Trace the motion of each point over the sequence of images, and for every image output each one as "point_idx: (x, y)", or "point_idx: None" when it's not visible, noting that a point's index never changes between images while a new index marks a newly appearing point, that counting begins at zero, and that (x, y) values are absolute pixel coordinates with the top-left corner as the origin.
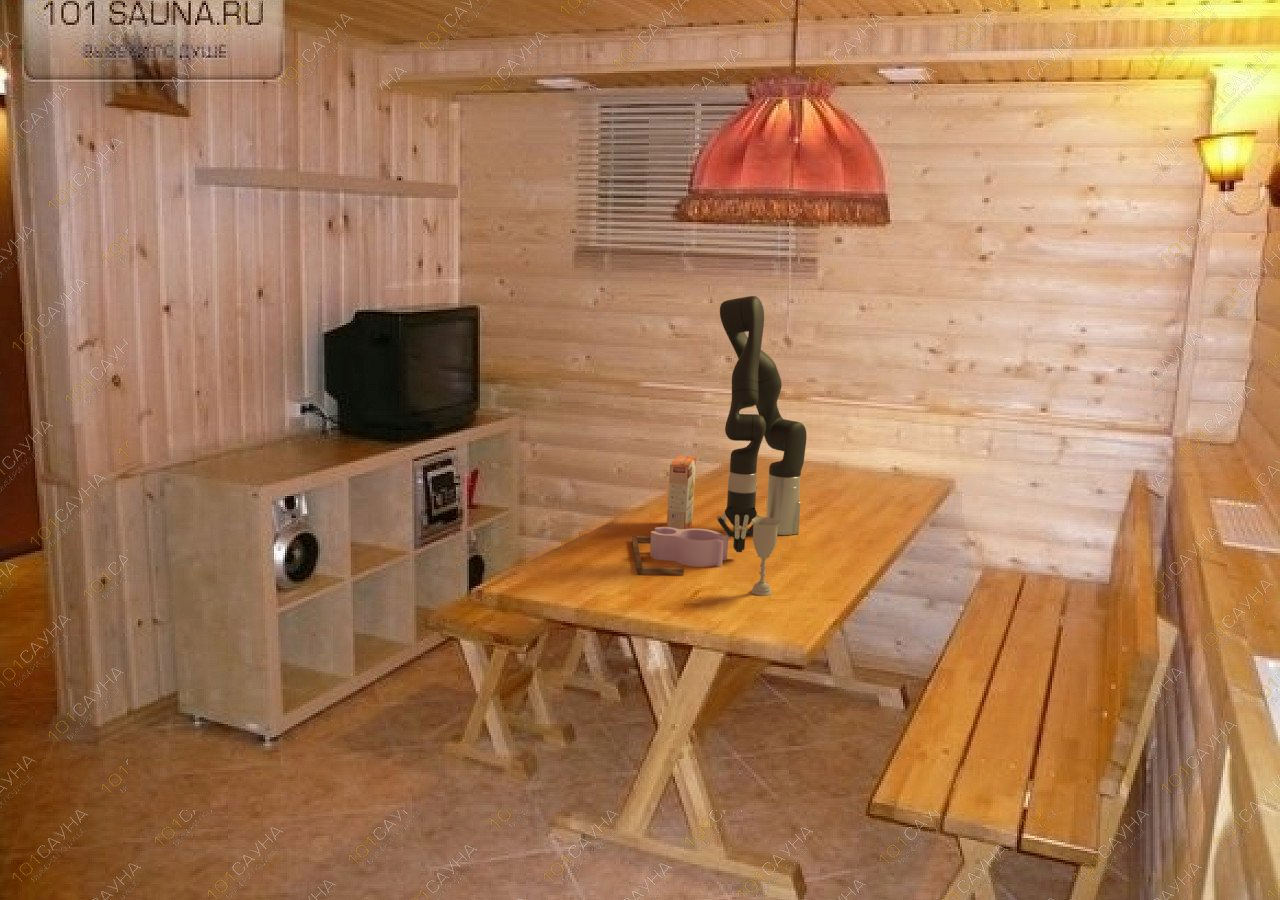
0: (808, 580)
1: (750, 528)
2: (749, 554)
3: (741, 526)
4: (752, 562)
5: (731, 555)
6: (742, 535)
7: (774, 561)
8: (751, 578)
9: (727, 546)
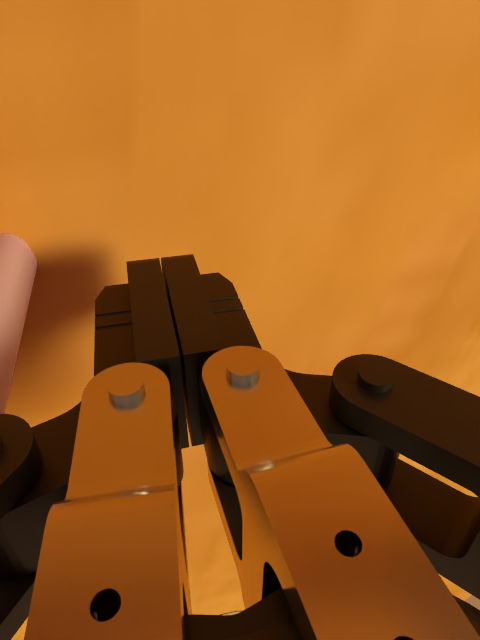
0: (465, 493)
1: (436, 463)
2: (302, 44)
3: (260, 586)
4: (271, 306)
5: (78, 109)
6: (233, 494)
7: (451, 253)
8: (207, 544)
9: (14, 360)
